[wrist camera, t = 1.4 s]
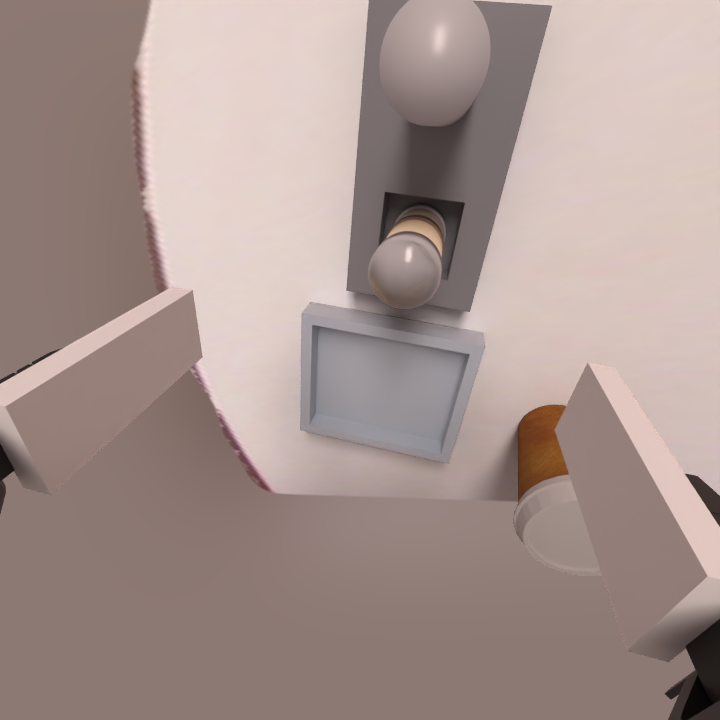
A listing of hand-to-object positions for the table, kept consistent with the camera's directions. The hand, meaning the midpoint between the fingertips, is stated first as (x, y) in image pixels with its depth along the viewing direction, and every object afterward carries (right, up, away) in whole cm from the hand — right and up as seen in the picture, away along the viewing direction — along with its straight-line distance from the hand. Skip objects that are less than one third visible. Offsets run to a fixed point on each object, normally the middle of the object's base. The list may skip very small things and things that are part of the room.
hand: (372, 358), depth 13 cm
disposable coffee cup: (+19, -7, +25) cm, 32 cm away
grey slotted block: (+5, +14, +15) cm, 21 cm away
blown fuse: (+4, +10, +17) cm, 20 cm away
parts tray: (+2, -2, +26) cm, 26 cm away
